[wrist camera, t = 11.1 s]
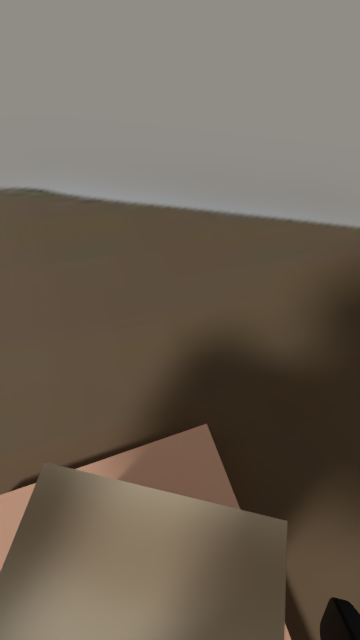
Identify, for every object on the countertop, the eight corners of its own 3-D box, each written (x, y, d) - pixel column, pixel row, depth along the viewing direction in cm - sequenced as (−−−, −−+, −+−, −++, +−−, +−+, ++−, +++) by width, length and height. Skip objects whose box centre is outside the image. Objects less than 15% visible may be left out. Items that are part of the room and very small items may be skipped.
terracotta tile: (301, 683, 14) (312, 695, 13) (23, 851, 11) (11, 883, 10) (203, 429, 19) (206, 423, 18) (-3, 501, 17) (-12, 499, 16)
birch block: (187, 694, 13) (275, 1005, 4) (48, 658, 13) (-127, 887, 5) (210, 527, 16) (287, 521, 7) (96, 499, 16) (44, 461, 8)
